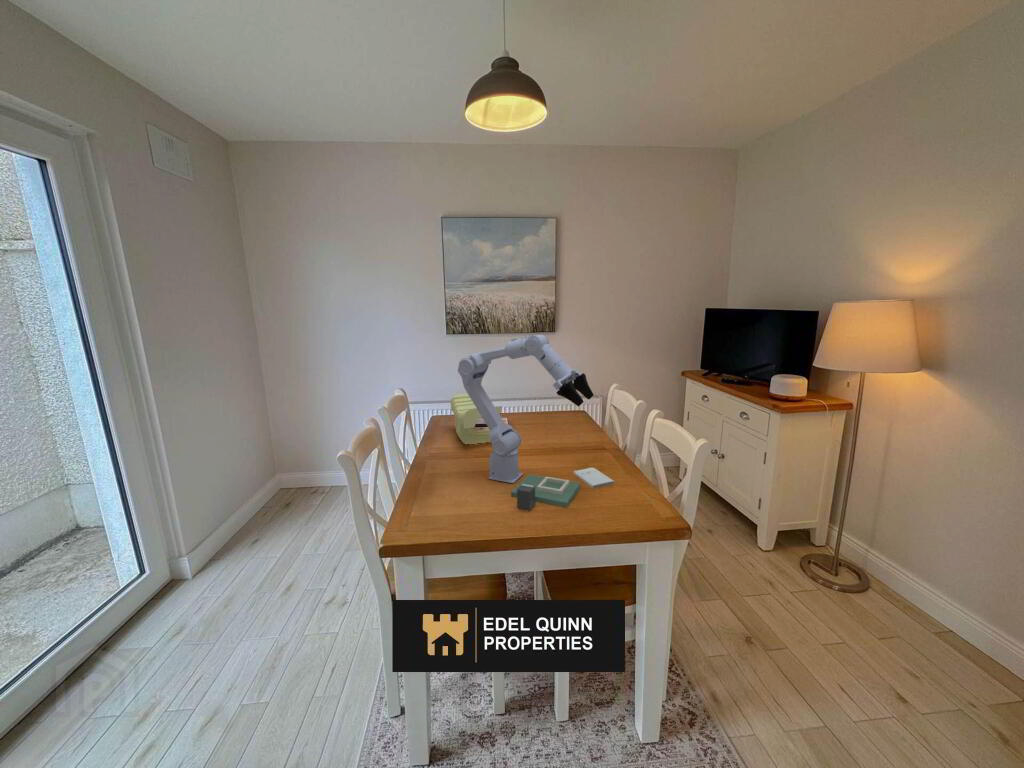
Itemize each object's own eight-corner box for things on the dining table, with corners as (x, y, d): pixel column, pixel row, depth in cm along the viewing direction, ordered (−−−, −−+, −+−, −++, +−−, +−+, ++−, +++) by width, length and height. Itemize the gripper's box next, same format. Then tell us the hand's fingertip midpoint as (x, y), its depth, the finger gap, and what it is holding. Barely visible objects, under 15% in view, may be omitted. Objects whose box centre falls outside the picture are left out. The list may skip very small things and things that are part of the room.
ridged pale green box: (452, 431, 190) (450, 394, 186) (485, 427, 195) (483, 391, 191) (465, 453, 162) (462, 410, 158) (503, 447, 167) (501, 406, 163)
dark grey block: (517, 508, 117) (516, 488, 116) (523, 502, 120) (522, 483, 119) (530, 511, 115) (529, 491, 114) (535, 504, 119) (535, 485, 117)
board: (511, 496, 124) (510, 488, 124) (529, 478, 137) (528, 470, 136) (566, 507, 117) (566, 498, 116) (580, 487, 129) (580, 479, 128)
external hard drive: (592, 490, 128) (573, 475, 139) (614, 485, 131) (593, 471, 142) (592, 485, 128) (573, 470, 139) (614, 480, 130) (593, 466, 142)
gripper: (553, 362, 113) (585, 398, 110) (574, 353, 125) (604, 386, 122) (538, 378, 117) (569, 413, 114) (560, 368, 128) (589, 400, 126)
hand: (586, 400), depth 118 cm, fingers open, 7 cm apart
